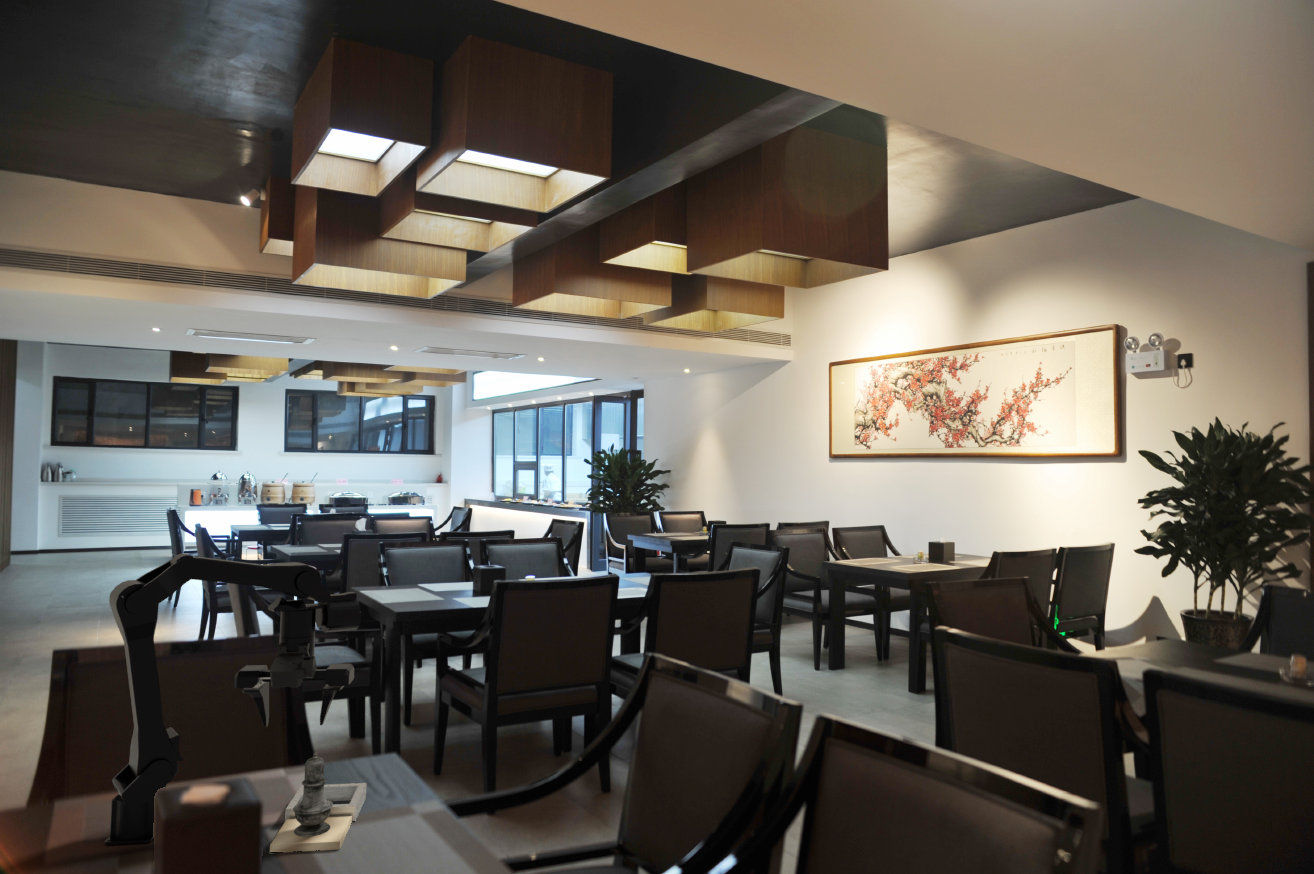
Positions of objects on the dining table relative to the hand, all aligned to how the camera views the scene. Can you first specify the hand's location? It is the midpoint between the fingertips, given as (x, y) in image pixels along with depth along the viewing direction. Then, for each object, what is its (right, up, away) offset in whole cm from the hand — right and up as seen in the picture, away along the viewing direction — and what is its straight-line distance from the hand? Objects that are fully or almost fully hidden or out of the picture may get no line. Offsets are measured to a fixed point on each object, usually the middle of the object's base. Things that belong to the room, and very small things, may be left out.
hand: (293, 725), depth 148 cm
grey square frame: (+8, -13, -4) cm, 16 cm away
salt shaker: (+9, -11, -15) cm, 21 cm away
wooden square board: (+9, -12, -15) cm, 22 cm away
